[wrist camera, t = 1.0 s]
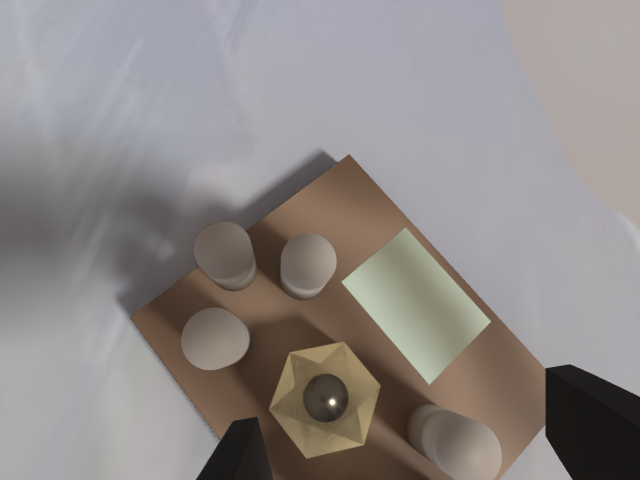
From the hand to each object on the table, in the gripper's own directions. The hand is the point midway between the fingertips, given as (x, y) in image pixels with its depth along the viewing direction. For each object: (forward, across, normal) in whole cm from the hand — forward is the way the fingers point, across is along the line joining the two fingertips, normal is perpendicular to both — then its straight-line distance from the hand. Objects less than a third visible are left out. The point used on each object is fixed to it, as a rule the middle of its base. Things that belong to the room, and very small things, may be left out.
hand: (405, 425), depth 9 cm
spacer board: (+11, +1, +5) cm, 12 cm away
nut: (+9, +3, +5) cm, 10 cm away
